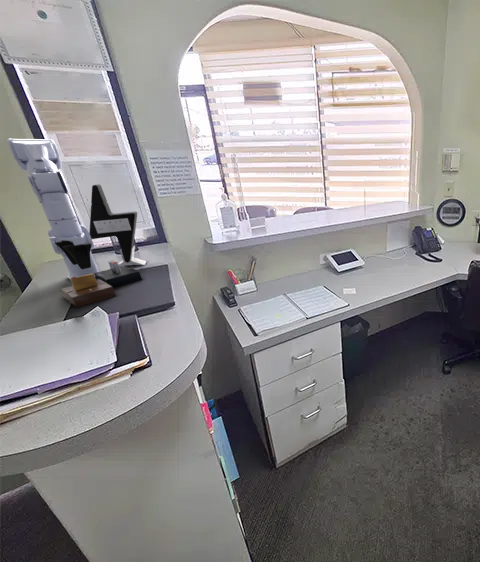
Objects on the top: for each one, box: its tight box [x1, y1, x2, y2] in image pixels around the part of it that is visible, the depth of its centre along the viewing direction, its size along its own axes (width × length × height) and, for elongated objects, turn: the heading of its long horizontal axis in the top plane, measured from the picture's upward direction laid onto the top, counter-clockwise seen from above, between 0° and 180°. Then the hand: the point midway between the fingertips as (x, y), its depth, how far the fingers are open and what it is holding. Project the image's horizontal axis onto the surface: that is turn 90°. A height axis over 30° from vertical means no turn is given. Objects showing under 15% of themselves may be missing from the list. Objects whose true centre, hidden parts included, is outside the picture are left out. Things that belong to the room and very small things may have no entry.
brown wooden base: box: [60, 279, 117, 308], centre depth 91 cm, size 12×9×3 cm
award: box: [88, 183, 147, 267], centre depth 113 cm, size 15×5×30 cm, turn 117°
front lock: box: [69, 273, 98, 291], centre depth 89 cm, size 5×1×4 cm, turn 146°
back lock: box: [108, 260, 121, 274], centre depth 102 cm, size 5×1×4 cm, turn 55°
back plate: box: [94, 265, 143, 288], centre depth 103 cm, size 12×9×3 cm
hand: (82, 266), depth 89 cm, fingers open, 7 cm apart
